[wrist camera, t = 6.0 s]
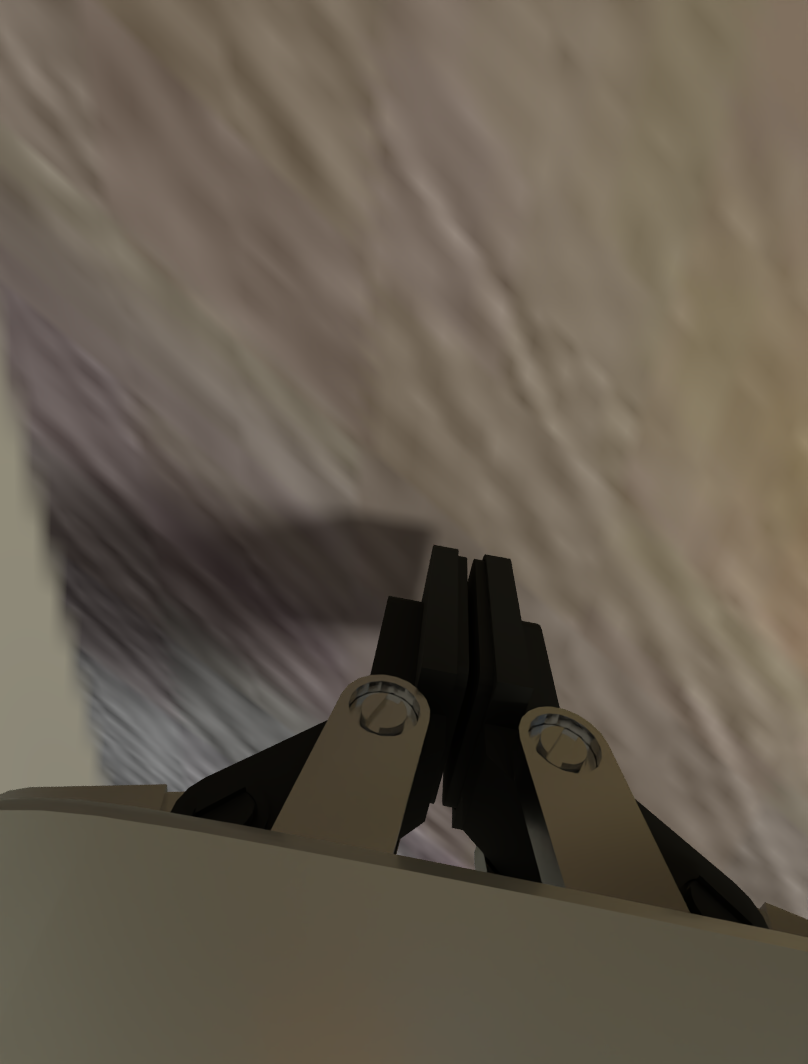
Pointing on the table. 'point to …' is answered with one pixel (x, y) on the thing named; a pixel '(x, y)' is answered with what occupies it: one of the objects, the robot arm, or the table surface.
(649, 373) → the table surface
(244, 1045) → the robot arm
